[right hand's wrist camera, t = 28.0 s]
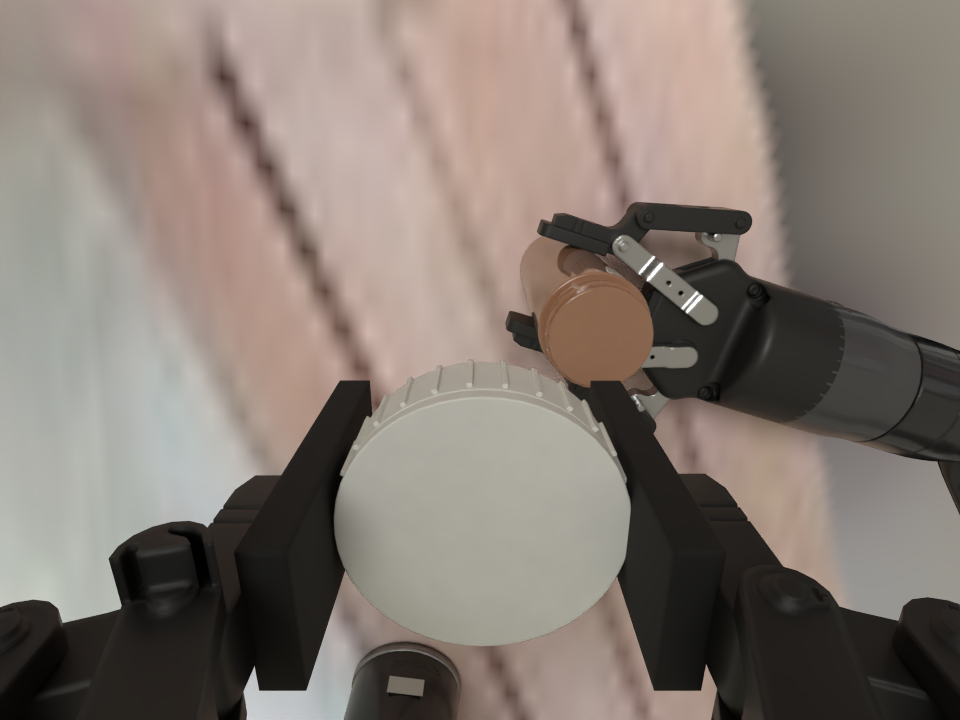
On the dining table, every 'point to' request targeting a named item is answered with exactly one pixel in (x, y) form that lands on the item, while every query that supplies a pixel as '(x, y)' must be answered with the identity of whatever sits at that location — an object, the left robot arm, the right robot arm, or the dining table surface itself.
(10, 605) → the right robot arm
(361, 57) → the dining table surface
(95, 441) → the dining table surface
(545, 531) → the lid
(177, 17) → the dining table surface
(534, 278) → the jar
